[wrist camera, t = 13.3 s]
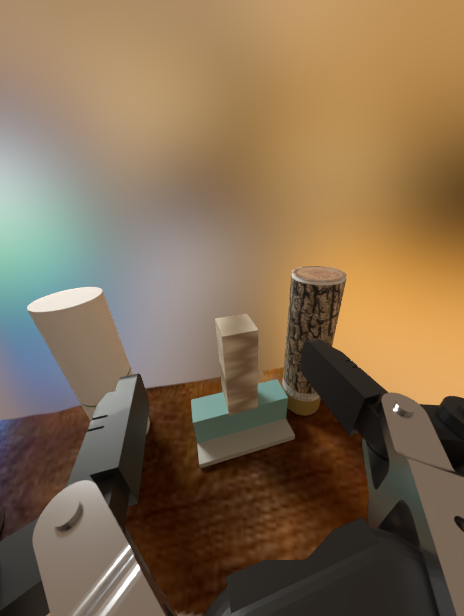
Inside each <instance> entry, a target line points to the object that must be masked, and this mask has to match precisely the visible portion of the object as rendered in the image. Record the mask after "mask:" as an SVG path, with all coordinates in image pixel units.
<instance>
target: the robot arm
mask: <svg viewBox="0 0 464 616" xmlns="http://www.w3.org/2000/svg"><path fill="white" fill-rule="evenodd" d="M300 368H301V372H302V374H303V376H304V377H305V378H306V380H307V381H308V382H309V383H310V385H311V386H312V387H313V389H314V390H315V391H316V393H317V394H318V395H319V397H320V398H321V399H322V400H323V402H324V403H325V404H326V406H327V407H328V408H329V410H330V411H331V412H332V414H333V415H334V416H335V417H336V419H337V420H338V421H339V423H340V424H341V425H342V427H343V428H344V429H345V431H346V432H347V433H348V434H349V436H351V435H354V434H357V433H360V434H361V435H362V436H363V439H362V447H363V454H364V460H365V467H366V474H367V481H368V488H369V501H368V509H367V519H368V524H367V522H366V521H365V519H364V517H362V518H359V519H357V520H355V521H352V522H350V523H348V524H346V525H343V526H341V527H339V528H336V529H334V530H333V531H332V532H331V533H330V534H329V535H328V536H327V537H326V539H325V540H324V541H323V542H322V543H321V544H320V545H319V546H318V547H317V549H316V550H315V551H314V552H313V553H312V554H311V555H310V556H309V557H308V558H307V559H305V560H263V561H261V562H258V563H256V564H254V565H251V566H249V567H247V568H245V569H242V570H240V571H238V572H235V573H233V574H231V575H228V576H226V581H227V587H226V588H225V589H224V590H223V591H222V592H221V593H220V594H219V595H218V596H217V597H216V599H215V600H214V601H213V603H212V604H211V605H210V607H209V608H208V610H207V612H206V613H205V615H204V616H464V398H460V397H456V396H448V397H445V398H444V399H443V401H442V402H441V404H440V405H423V404H418V403H417V402H415V401H414V400H412V399H410V398H408V397H406V396H404V395H401V394H398V393H388V392H387V391H386V390H385V389H384V388H382V387H381V386H380V385H379V384H378V383H377V382H376V381H374V380H373V379H372V378H371V377H370V376H369V375H367V374H366V373H365V372H364V371H363V370H362V369H361V368H358V367H357V365H356V364H355V363H354V362H353V361H351V360H350V359H349V358H348V357H347V356H346V355H345V354H343V353H342V352H341V351H339V350H337V349H335V348H333V347H329V346H328V345H327V344H326V343H325V342H324V341H322V340H321V339H315V340H310V341H306V342H304V344H303V350H302V356H301V361H300ZM148 415H149V401H148V396H147V393H146V390H145V387H144V384H143V381H142V378H141V375H140V374H135V375H129V376H124V377H120V378H119V381H118V384H117V387H116V390H115V391H114V392H109V393H106V395H105V396H104V397H103V398H102V400H101V401H100V402H99V403H98V405H97V407H96V409H95V412H94V415H93V417H92V421H91V422H90V425H89V428H88V432H87V433H86V436H85V438H84V441H83V444H82V446H81V449H80V452H79V454H78V457H77V460H76V462H75V465H74V467H73V470H72V473H71V475H70V478H69V480H68V483H67V485H66V487H65V488H64V490H62V491H61V492H60V493H59V494H58V495H56V496H55V497H54V498H53V499H52V501H51V502H50V503H49V504H48V505H47V507H46V508H45V509H44V511H43V512H42V514H41V515H40V516H39V517H38V518H37V519H36V520H34V521H33V522H31V523H30V524H28V525H26V526H25V527H23V528H22V529H20V530H18V531H17V532H15V533H13V534H12V535H10V536H9V537H7V538H5V539H4V540H2V541H0V616H46V615H47V614H48V613H50V614H51V616H177V615H176V613H175V611H174V610H173V608H172V606H171V604H170V603H169V601H168V599H167V598H166V596H165V594H164V593H163V591H162V589H161V588H160V586H159V585H158V583H157V581H156V580H155V578H154V576H153V574H152V573H151V571H150V569H149V567H148V565H147V564H146V562H145V560H144V558H143V557H142V555H141V553H140V551H139V550H138V548H137V546H136V544H135V542H134V541H133V539H132V537H131V535H130V534H129V532H128V530H127V528H126V527H125V521H126V515H127V508H128V507H129V506H132V505H135V504H138V501H139V493H140V484H141V475H142V467H143V458H144V449H145V441H146V432H147V423H148ZM3 521H4V511H3V508H2V507H1V506H0V531H1V528H2V524H3Z"/></svg>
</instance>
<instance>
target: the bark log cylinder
mask: <svg viewBox="0 0 464 616" xmlns="http://www.w3.org/2000/svg"><path fill="white" fill-rule="evenodd" d="M345 282H346V273H345V272H343V271H341V270H338V269H335V268H329V267H320V266H308V267H301V268H297V269H294V270H293V271H292V276H291V288H290V300H289V313H288V325H287V336H286V349H285V360H284V361H285V362H284V372H283V386H282V388H283V390H284V392H285V393H286V395H287V397H288V403H287V408H288V409H289V410H290V411H292V412H293V413H295V414H298V415H303V416H306V415H311V414H313V413H315V412H316V411H317V410H318V408H319V405H320V400H321V398H320V397H319V395H318V394H317V393H316V391H315V390H314V389H313V387H312V386H311V385H310V383H309V382H308V381H307V380H306V378H305V377H304V376H303V374H302V372H301V368H300V361H301V356H302V350H303V344H304V342H306V341H310V340H315V339H321V340H322V341H324V342H325V343H326V344H327V345H328V346H329V347H332V344H333V339H334V334H335V329H336V324H337V320H338V315H339V310H340V306H341V301H342V296H343V291H344V286H345Z"/></svg>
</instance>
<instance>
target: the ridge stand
mask: <svg viewBox="0 0 464 616" xmlns="http://www.w3.org/2000/svg"><path fill="white" fill-rule="evenodd" d="M287 403H288V397H287V395H286V393H285V392H284V390H283V388H282V387H281V385H280V383H279V382H278V380H277V379H276V380H272V381H268V382H263V383H259V384H258V408H255V409H251V410H247V411H243V412H240V413H236V414H232V415H229V414H228V410H227V406H226V402H225V399H224V395H223V392H222V393H218V394H214V395H210V396H205V397H201V398H197V399H193V400H191V405H192V417H193V425H194V430H195V435H196V439H197V444H198V455H199V465H200V468H203V467H206V466H210V465H213V464H216V463H219V462H223V461H226V460H229V459H232V458H235V457H239V456H242V455H245V454H248V453H252V452H255V451H258V450H261V449H264V448H268V447H271V446H274V445H277V444H281V443H284V442H287V441H290V440H293V439H295V434H294V432H293V430H292V429H291V427H290V425H289V423H288V421H287V419H286V413H287Z"/></svg>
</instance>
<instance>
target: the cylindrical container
mask: <svg viewBox="0 0 464 616" xmlns="http://www.w3.org/2000/svg"><path fill="white" fill-rule="evenodd" d="M27 310H28V312H29V313H30V315H31V317H32V319H33V321H34V322H35V324H36V326H37V328H38V329H39V331H40V333H41V335H42V336H43V338H44V340H45V342H46V343H47V345H48V347H49V349H50V350H51V352H52V354H53V356H54V357H55V359H56V361H57V363H58V365H59V366H60V368H61V370H62V371H63V373H64V375H65V377H66V379H67V380H68V382H69V384H70V386H71V387H72V389H73V391H74V393H75V394H76V396H77V398H78V400H79V401H80V403H81V405H82V407H83V408H84V410H85V412H86V414H87V415H88V417H89V419H90V421H92V417H93V415H94V412H95V409H96V407H97V405H98V403H99V402H100V401H101V400H102V398H103V397H104V396H105V395H106V393H109V392H114V391H115V390H116V387H117V384H118V381H119V378H120V377H124V376H129V375H133V373H132V370H131V368H130V365H129V362H128V359H127V357H126V354H125V351H124V349H123V346H122V343H121V340H120V338H119V335H118V332H117V329H116V327H115V324H114V321H113V319H112V316H111V313H110V310H109V307H108V305H107V302H106V299H105V296H104V293H103V291H102V289H100V288H97V287H84V288H74V289H69V290H65V291H60V292H57V293H53V294H51V295H47V296H45V297H42V298H40V299H37V300H35V301H34V302H32V303H31V304H29V305H28V307H27ZM149 426H150V420H149V417H148V423H147V432H148V430H149ZM147 432H146V434H147Z"/></svg>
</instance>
